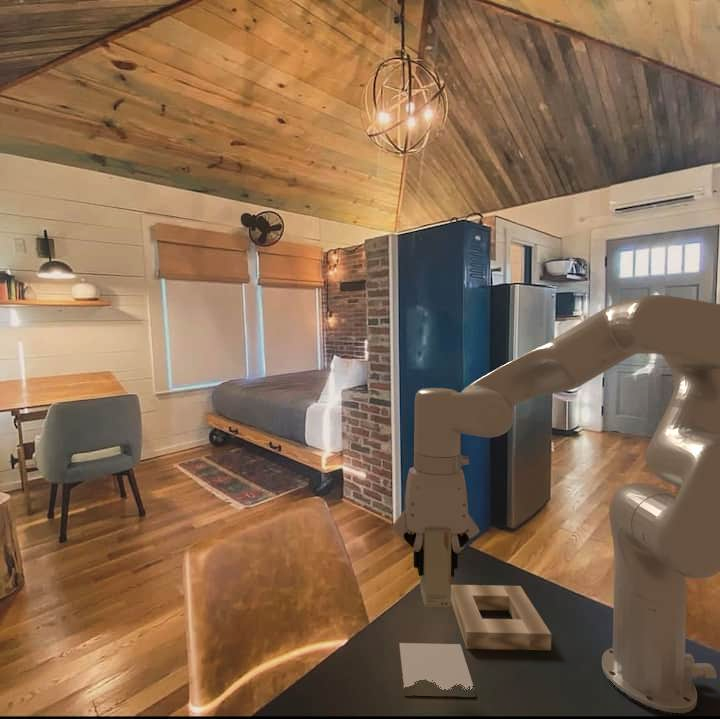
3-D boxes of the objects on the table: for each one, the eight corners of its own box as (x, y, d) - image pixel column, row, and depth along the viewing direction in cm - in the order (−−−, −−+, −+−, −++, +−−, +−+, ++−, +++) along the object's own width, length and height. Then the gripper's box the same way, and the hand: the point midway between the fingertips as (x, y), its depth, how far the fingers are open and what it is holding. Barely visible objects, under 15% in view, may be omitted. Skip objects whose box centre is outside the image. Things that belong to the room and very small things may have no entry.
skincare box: (451, 608, 65) (452, 532, 65) (424, 608, 65) (425, 531, 65) (444, 585, 72) (445, 516, 71) (419, 585, 72) (420, 515, 72)
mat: (460, 646, 74) (460, 644, 74) (476, 697, 63) (476, 695, 63) (399, 645, 74) (399, 642, 74) (404, 696, 63) (404, 693, 63)
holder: (520, 599, 88) (520, 585, 88) (551, 650, 73) (551, 633, 73) (450, 598, 88) (450, 584, 88) (466, 648, 73) (466, 632, 73)
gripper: (481, 458, 72) (479, 561, 72) (384, 456, 72) (383, 559, 72) (494, 470, 64) (492, 586, 64) (386, 468, 64) (385, 583, 65)
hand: (435, 570), depth 68 cm, fingers closed on skincare box, 4 cm apart
